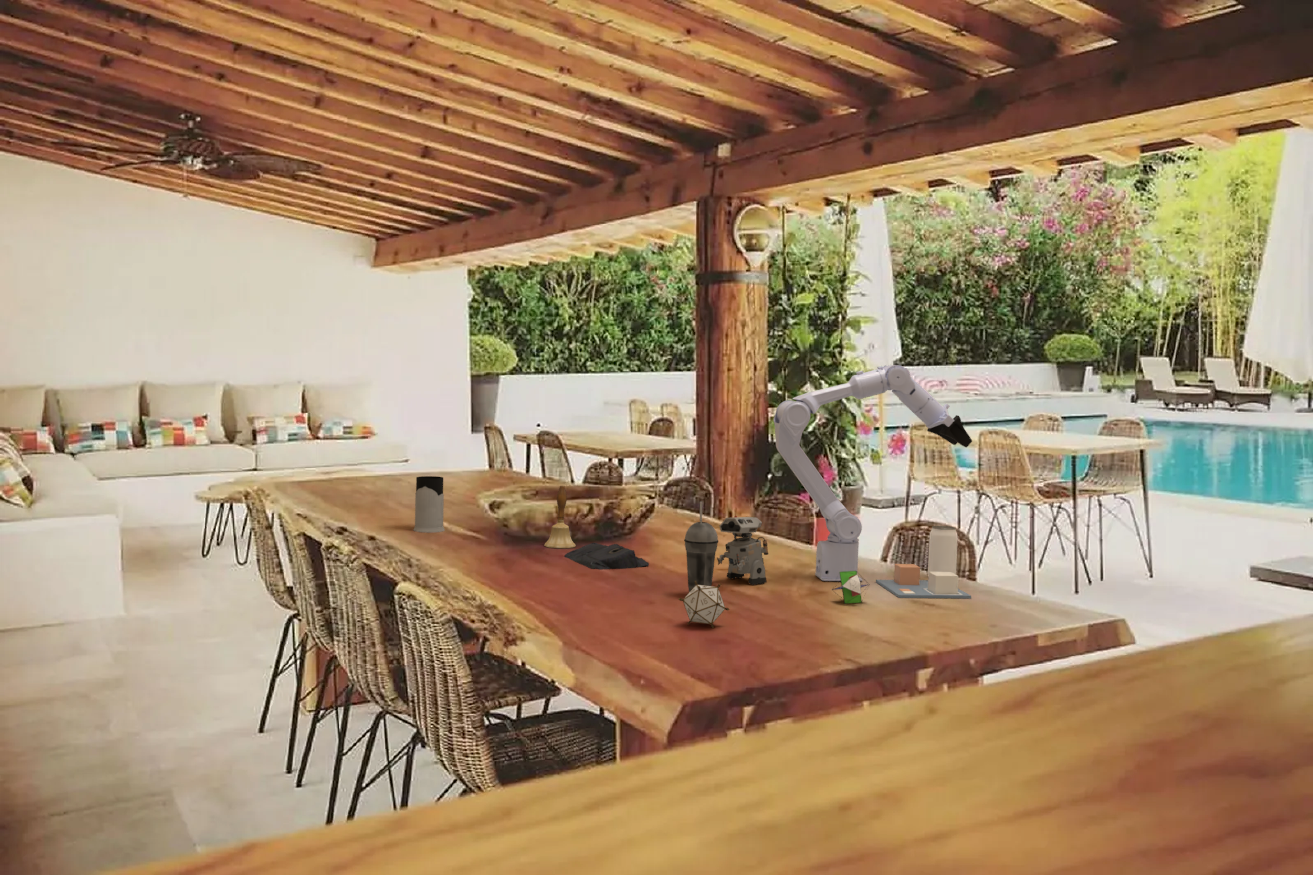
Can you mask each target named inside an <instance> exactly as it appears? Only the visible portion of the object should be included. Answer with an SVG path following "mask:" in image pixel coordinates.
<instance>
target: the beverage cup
mask: <svg viewBox="0 0 1313 875" xmlns="http://www.w3.org/2000/svg"><path fill="white" fill-rule="evenodd" d="M718 543H719V538H718V533H717V530H716V529H715V527H714V526H713V525H712V524H710V523H709V522H707V521H703V501H699V521H696V522H694V523H692V524H691V525H690V526H689V527H688V528H687V530H686V532H685V537H684V547H685V551H686V569H687V587H688V593H689V592H690V591H691V590H692V589H693V588H694V587H695V586H696V585H695V581H696V582H697V584H698V585H706V586H713V578H714V570H715V560H716V552H717V549H718Z"/></svg>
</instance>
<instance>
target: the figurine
mask: <svg viewBox="0 0 1313 875" xmlns="http://www.w3.org/2000/svg"><path fill="white" fill-rule="evenodd" d="M762 524H763V522H762V521H761V520H760V519H759V518H758V517H752V516H737V515H735V516H734V517H726V518H725V519H724V520H723V521H722V522H721V524H720V525H719V530H720V532H721V533H731V534H732V535H733V538H734V539H732V541H728V542H727V543H725V551H724V552H723V554H719V557H716V560H717V562H718V563H717V566H719V565H720V564H721V565H722V564H723V561H724V560H725V558H726V559H728V569H727V572H726V578H727V579H729V580H735V579H743V577H745V575H748V574H749V578H748V584H749V585H751V586H757V585H765V583H767V577H766V567H765V562H764V558H763V556H767V555H769V548H768V540H766V539H765V537H763V536H759V537H758V538H757V539H756V538H753V537H752V536H753V533H754V534H755V533H757V530H758V528H761V527H762ZM761 539H763V540H762V542H761Z"/></svg>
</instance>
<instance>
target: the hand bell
mask: <svg viewBox="0 0 1313 875" xmlns="http://www.w3.org/2000/svg"><path fill="white" fill-rule="evenodd" d="M558 488H559V489H558V491H557V494H556V504H557V510H558V513H557V521H556V523H555V524H553V525H552V526H551V531H550V532H551V533H550V536H549V538H548V540H547V541H546V542H545V543H544V545H543V546H544V547H546V548H550V549H551V548H552V549H553V548H554V549H572V548H575V547H576V543H574V541H573V540H572V537H571V533H570V528H569V527H570V526H569V525H567V524H565V509H566V508H565V507H566V504H567V491H566V486H565V485H560V486H559V487H558Z"/></svg>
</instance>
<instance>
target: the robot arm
mask: <svg viewBox="0 0 1313 875" xmlns="http://www.w3.org/2000/svg"><path fill="white" fill-rule="evenodd" d="M887 391H891V392H892V393H893V394H894V396H896V397H897V398H898V400H899V401H900V402H901V403H902V404H903V405H904V406H905V407H906V408H908V409H909V410H910V411H911V412H912V413H913V415H915V416H916V418H918V419H919V420H920V421H921V422H923V423H924V425H925V426H926V428H927V429H926V431H927V432H928V433H932V434H934V435H937V436H939V437H940V438H942V439H943V440H945V441H946V442H948V443H949V444H952V446H953V445H954V446H956V445H957V444H959V445H961V446H962V447H963V448H968V447H969V446H970V444H972V442H973V440H972V438H971V436H970V435H969V433H968V432H967V430H966V429H965V426H964V425H963V422H962V419H961V417H960V416H959V415H955V416H954V417H951V415H949V411H948V409H950V405H949V404H948V403H945V404H944V405H942V404H941V403H940V402H939V401H938V400H937V399H935V398H934V396H932V395H931V394H930V393H929V392H928V391H927V390H926V389H925V388H924V387H923V386H922V385H921V384H920V383H919V382H917V381H916V380H915V379H914V378H913V377H912V376H911V373H910V371H909V369H908V368H907V367H904V366H902V365H900V364H890V365H889V364H888V365H887V364H886V365H883V366H882V365H881V366H877V369H873V370H869V371H865V372H864V371H863V370H859V371H856V372H855V374H853V375H852V376H851V377H850V379H849V380H848V382H846V383H841V384H837V385H833V386H828V387H826V388H825V387H824V388H821V389H817V390H812V391H809V392H806V393H803V394H800V395H797V396H795V397H793V398H792V399H791V400H784V401H782V402H781V403H779V405H778V406H777V408H776V410H775V414H774V417H773V419H772V420H773V424H774V435H775V447H776V450H777V452H778V453H779V454H780V456H781V458H782V459H783V461H784V462H786V464H787V466H788V467H789V469H790V470H791V472H793V473H794V474H793V475H794V476H795V477H796V478H797V479H798V481H799V482H800V484H801V486H803V487H804V490H806V492H807V493H808V494H809V496H810V498H811V499H812V500H813V502H814V503H815V505H816V506H817V507H818V509H819V510H820V513H821V516H823V517H822V518H824V520H825V525H826V529H827V531H828V532H829V534H828V535H827V538H826V540H819V541H818V542H817V545H816V554H815V555H816V557H815V572H814V575H815V576H816V577H817V578H819V579H820V580H821V581H823V582H824V581H825V582H828V581H829V582H841V581H840V573H839V571H840V572H844V571H856V570H857V573H859V572H858V570H859V544H860V543H859V541H860V539H859V536H860V535H861V534H862V530H863V524H862V522H861V520H860V519H859V518H858V516H856V515H854V514H852V513H851V512H849V511H848V509H847V508H846V506H845V505H843V503H842V502H841V501H840V499H838V498H837V496H836V494H835V493H834V492H833V490H832V489H831V488H830V486H829V485H828V483H827V482H826V481H825V480H824V478H823V477H822V475H821V473H820V472H819V471H818V469H817V468H816V467H815V465H814V464H813V462H812V460H810V458H809V457H808V456H807V454H806V453H805V451H804V450H803V448H802V447H801V446H800V443H801V440H802V436H803V432H804V430H805V429H806V427H807V426H808V424H809V422H810V420H811V414H813V415H815V414H816V413H817V412H818V410H819V409H820V407H821V406H822V405H826V404H829V403H833V402H836V401H839V400H842V399H846V398H849V397H853V398H854V399H856V400H863V399H866V398H870V397H874V396H877V395H881V394H884V393H886V392H887ZM858 577H859V580H860V582H863V580H864V578H863V579H862V577H861V576H860V575H858Z"/></svg>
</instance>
